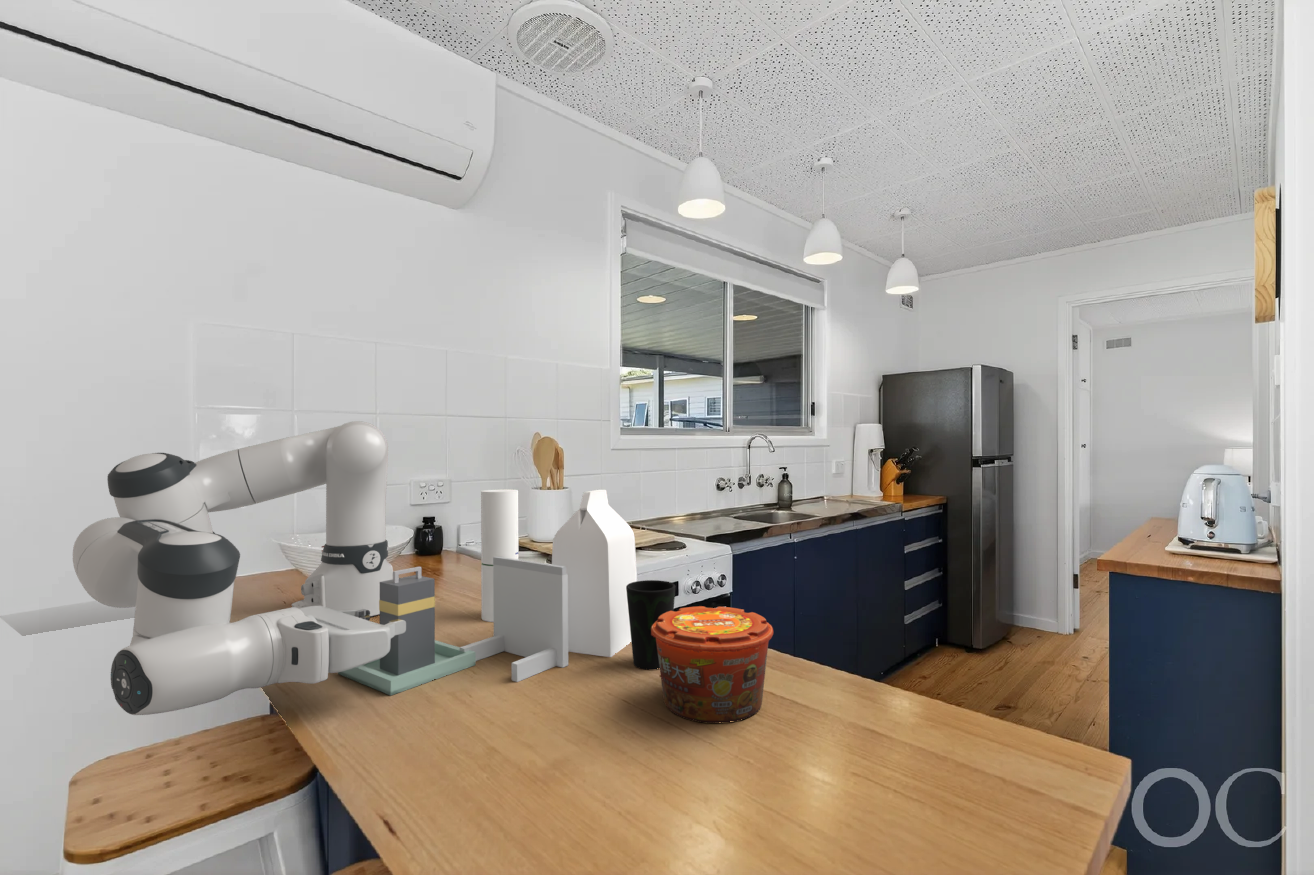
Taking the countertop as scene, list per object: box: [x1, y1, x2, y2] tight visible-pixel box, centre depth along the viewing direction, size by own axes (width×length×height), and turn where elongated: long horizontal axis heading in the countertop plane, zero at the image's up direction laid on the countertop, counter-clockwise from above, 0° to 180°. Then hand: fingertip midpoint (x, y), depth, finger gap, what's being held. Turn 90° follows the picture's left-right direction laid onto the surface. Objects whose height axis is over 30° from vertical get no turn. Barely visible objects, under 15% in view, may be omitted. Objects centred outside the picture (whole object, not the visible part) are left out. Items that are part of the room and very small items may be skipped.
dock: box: [460, 556, 569, 683], centre depth 95 cm, size 16×9×15 cm, turn 54°
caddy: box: [379, 566, 436, 675], centre depth 93 cm, size 5×6×15 cm
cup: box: [626, 579, 676, 671], centre depth 95 cm, size 8×8×12 cm
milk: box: [551, 489, 638, 658], centre depth 105 cm, size 12×12×26 cm
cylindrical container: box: [480, 488, 519, 623], centre depth 121 cm, size 7×7×25 cm
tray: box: [337, 639, 477, 696], centre depth 93 cm, size 14×14×2 cm
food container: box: [651, 605, 774, 724], centre depth 80 cm, size 16×16×11 cm
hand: (384, 619), depth 90 cm, fingers open, 8 cm apart
